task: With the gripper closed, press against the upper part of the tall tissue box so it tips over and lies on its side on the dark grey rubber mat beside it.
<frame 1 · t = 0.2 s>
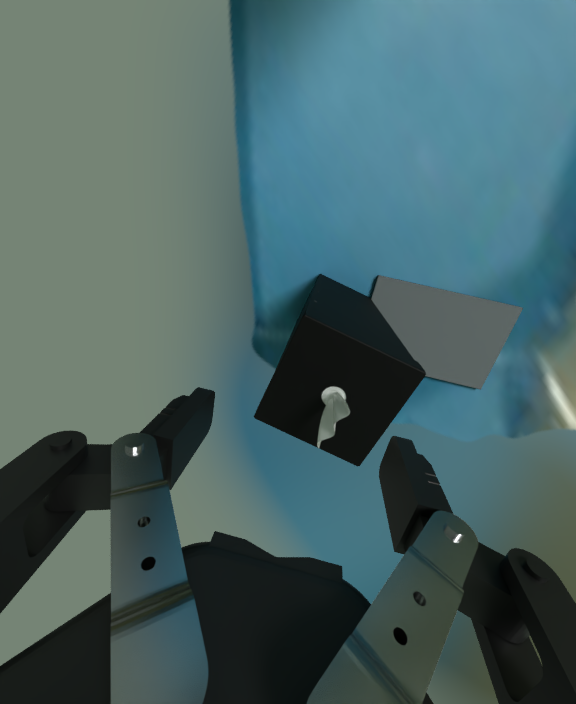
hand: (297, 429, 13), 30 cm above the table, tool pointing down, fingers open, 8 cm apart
tissue box: (332, 310, 41), on the table
rubber mat: (430, 333, 40), on the table
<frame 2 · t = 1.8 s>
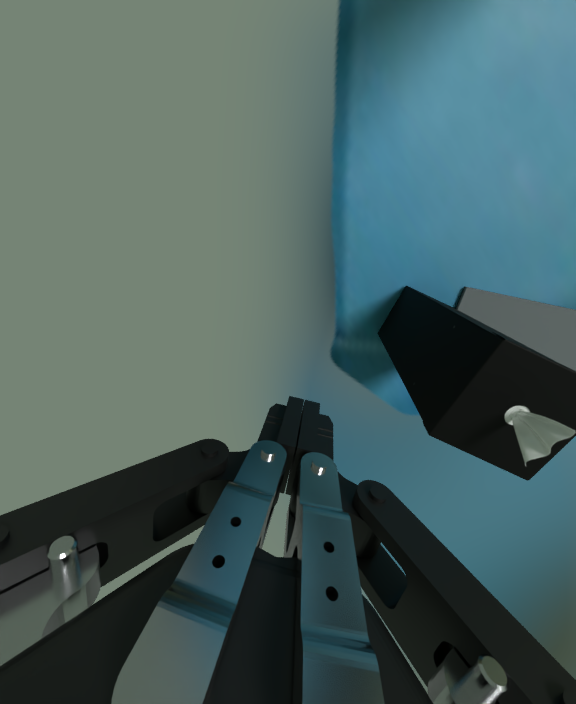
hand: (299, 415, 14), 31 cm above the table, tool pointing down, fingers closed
tissue box: (414, 320, 42), on the table
rubber mat: (513, 342, 41), on the table
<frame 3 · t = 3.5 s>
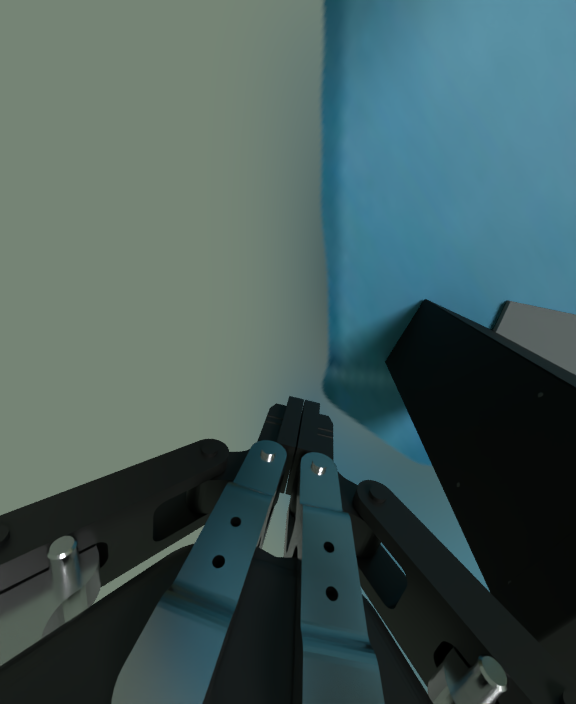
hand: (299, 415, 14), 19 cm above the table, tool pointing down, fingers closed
tissue box: (435, 345, 31), on the table
rubber mat: (571, 376, 30), on the table
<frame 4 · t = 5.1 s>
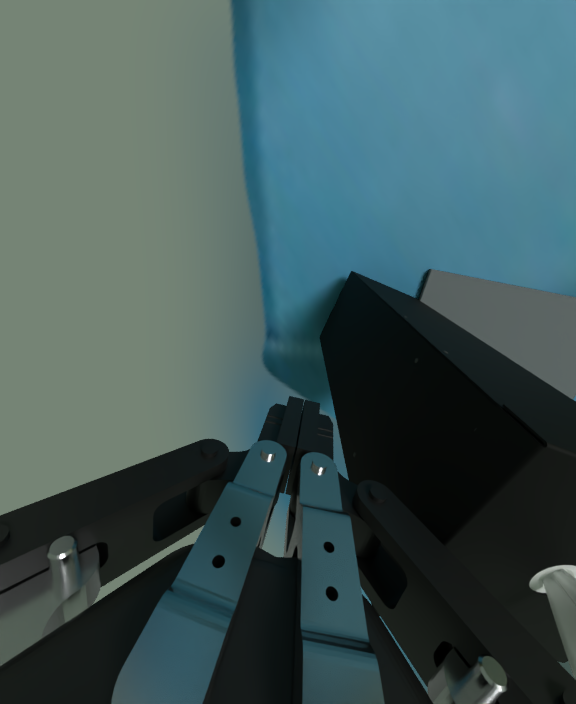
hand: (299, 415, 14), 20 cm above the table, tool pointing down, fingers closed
tissue box: (366, 317, 31), on the table, touching hand
rubber mat: (497, 344, 30), on the table
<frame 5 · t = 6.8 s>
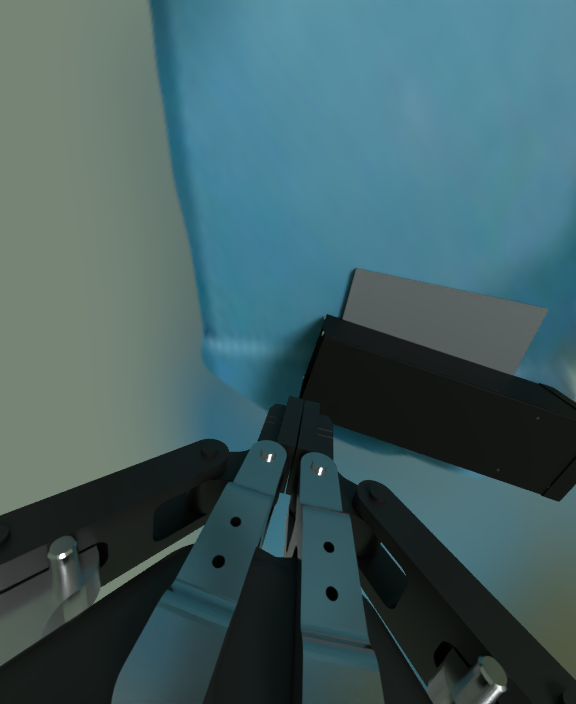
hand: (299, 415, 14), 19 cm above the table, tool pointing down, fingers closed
tissue box: (309, 357, 29), point 4 cm above the table, touching rubber mat
rubber mat: (426, 343, 31), on the table
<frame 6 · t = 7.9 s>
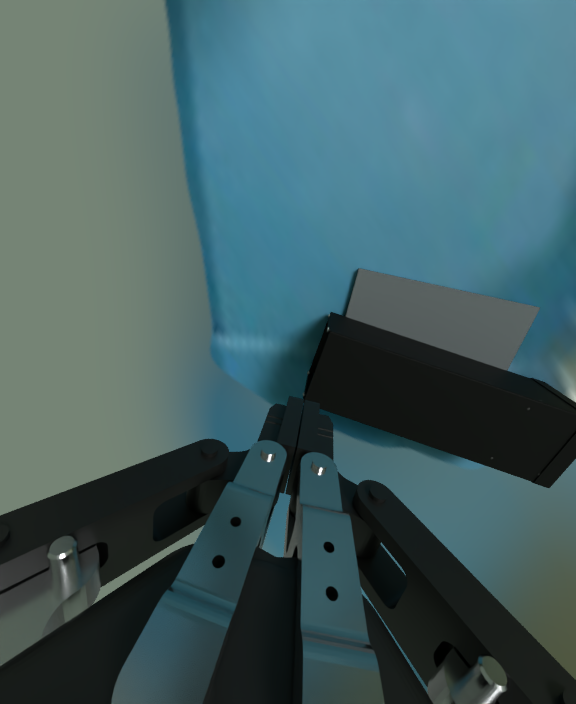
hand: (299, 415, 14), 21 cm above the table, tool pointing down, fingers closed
tissue box: (314, 352, 30), point 4 cm above the table, touching rubber mat
rubber mat: (424, 340, 33), on the table
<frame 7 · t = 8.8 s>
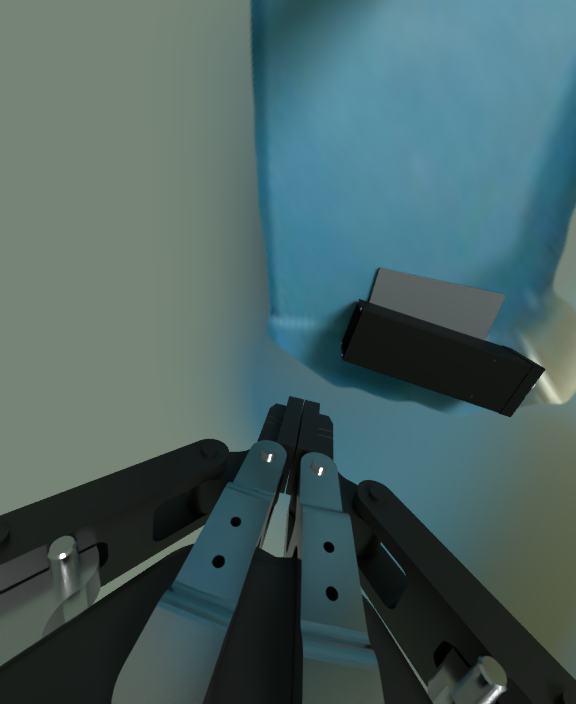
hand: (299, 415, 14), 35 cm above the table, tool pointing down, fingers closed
tissue box: (348, 327, 43), point 4 cm above the table, touching rubber mat
rubber mat: (426, 319, 45), on the table
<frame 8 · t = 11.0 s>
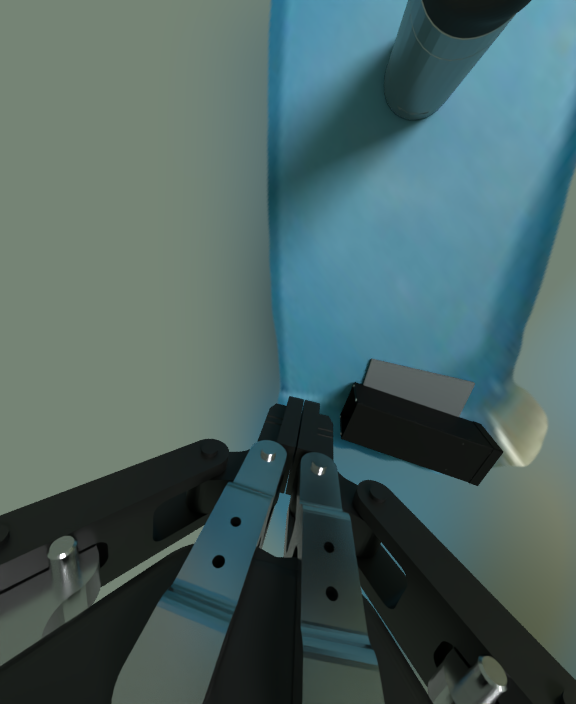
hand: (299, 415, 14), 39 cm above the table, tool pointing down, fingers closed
tissue box: (346, 408, 52), point 4 cm above the table, touching rubber mat
rubber mat: (410, 398, 55), on the table
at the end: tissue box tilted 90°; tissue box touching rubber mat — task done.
